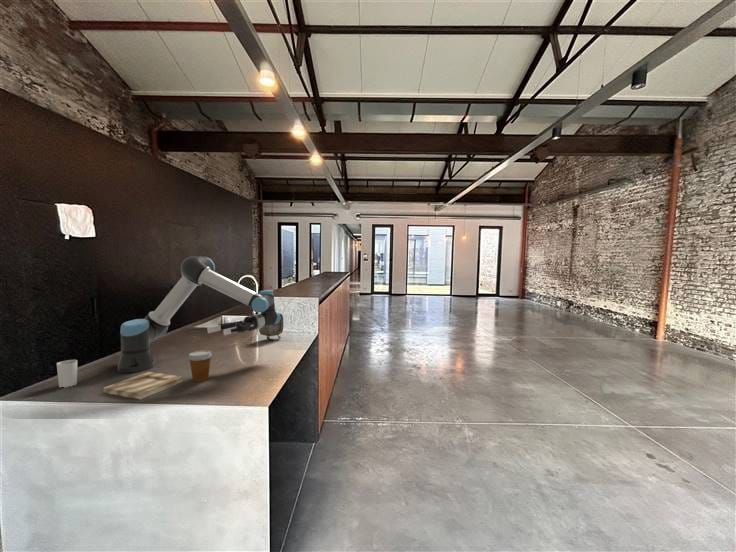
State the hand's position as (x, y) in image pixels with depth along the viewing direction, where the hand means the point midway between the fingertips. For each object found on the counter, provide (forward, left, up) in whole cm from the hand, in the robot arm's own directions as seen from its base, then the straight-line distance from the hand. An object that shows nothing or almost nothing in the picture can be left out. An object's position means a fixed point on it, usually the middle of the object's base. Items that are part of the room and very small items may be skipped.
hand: (215, 331), depth 160 cm
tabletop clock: (-14, +66, -20) cm, 70 cm away
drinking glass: (-49, -32, -20) cm, 62 cm away
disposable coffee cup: (-1, -8, -20) cm, 22 cm away
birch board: (-16, -23, -20) cm, 35 cm away
